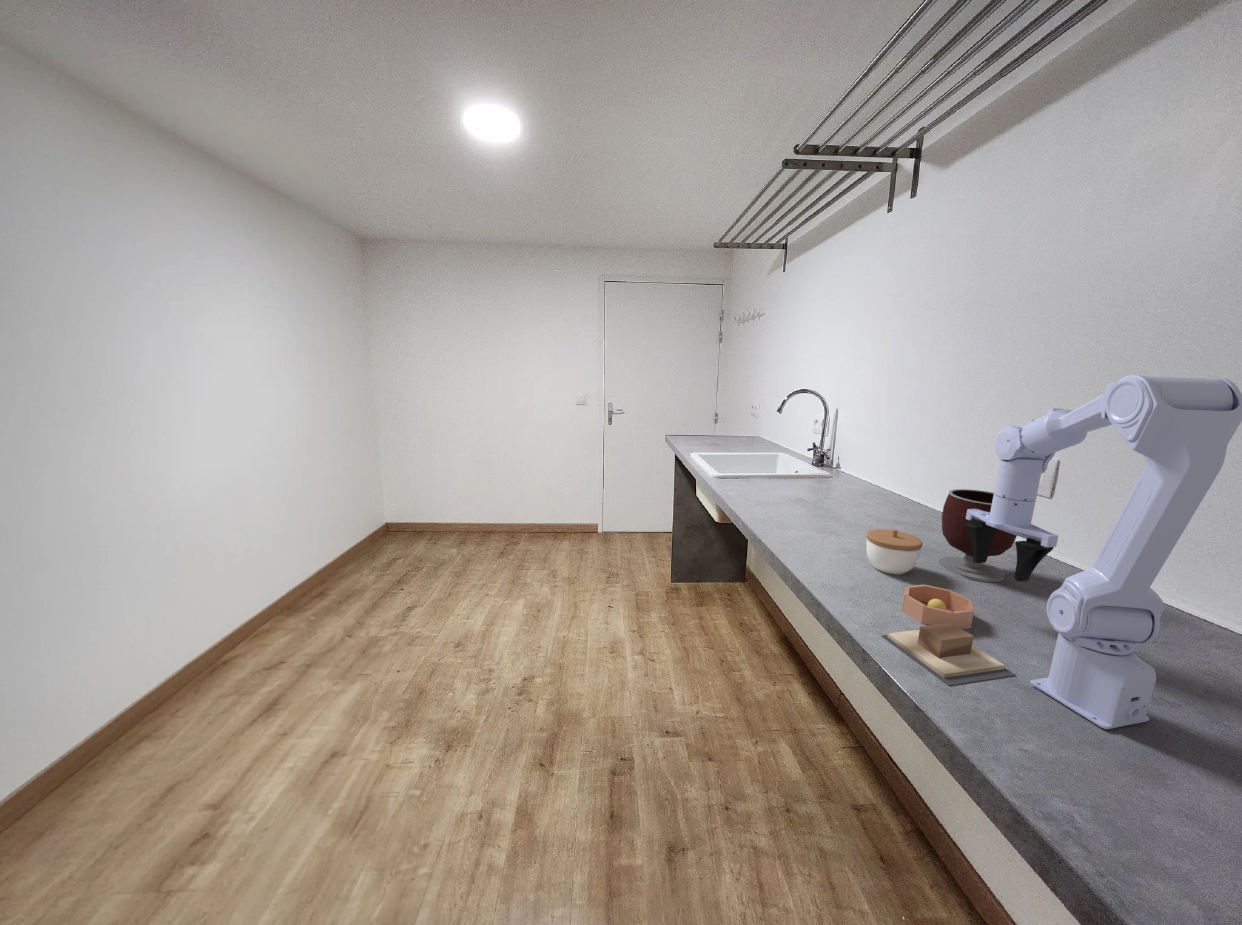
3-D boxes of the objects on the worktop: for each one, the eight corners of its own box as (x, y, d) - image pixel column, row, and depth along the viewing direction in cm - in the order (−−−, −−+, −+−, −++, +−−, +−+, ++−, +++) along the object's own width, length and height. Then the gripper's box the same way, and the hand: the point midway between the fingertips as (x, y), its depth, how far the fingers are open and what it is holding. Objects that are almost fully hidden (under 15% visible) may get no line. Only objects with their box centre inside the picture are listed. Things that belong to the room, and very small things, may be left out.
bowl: (984, 628, 87) (988, 609, 86) (935, 634, 84) (938, 615, 83) (934, 599, 96) (937, 583, 96) (889, 604, 94) (891, 587, 93)
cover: (1004, 668, 74) (1008, 647, 73) (944, 677, 71) (948, 655, 71) (941, 630, 84) (945, 610, 84) (887, 636, 82) (890, 616, 81)
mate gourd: (925, 567, 112) (939, 481, 108) (944, 553, 121) (958, 473, 117) (1009, 592, 100) (1029, 497, 96) (1024, 574, 110) (1043, 487, 105)
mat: (1015, 677, 73) (1015, 674, 73) (948, 688, 70) (949, 685, 70) (940, 630, 85) (940, 628, 85) (881, 638, 82) (881, 635, 82)
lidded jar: (925, 583, 104) (932, 541, 102) (870, 577, 106) (875, 535, 104) (907, 563, 114) (913, 524, 112) (857, 558, 116) (862, 520, 114)
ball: (948, 617, 89) (950, 602, 89) (935, 618, 88) (938, 604, 88) (935, 609, 92) (937, 595, 91) (922, 610, 91) (925, 596, 91)
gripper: (958, 486, 91) (945, 556, 94) (1040, 510, 77) (1023, 591, 80) (988, 485, 92) (975, 554, 95) (1074, 508, 79) (1056, 587, 81)
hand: (999, 570), depth 88 cm, fingers open, 7 cm apart
